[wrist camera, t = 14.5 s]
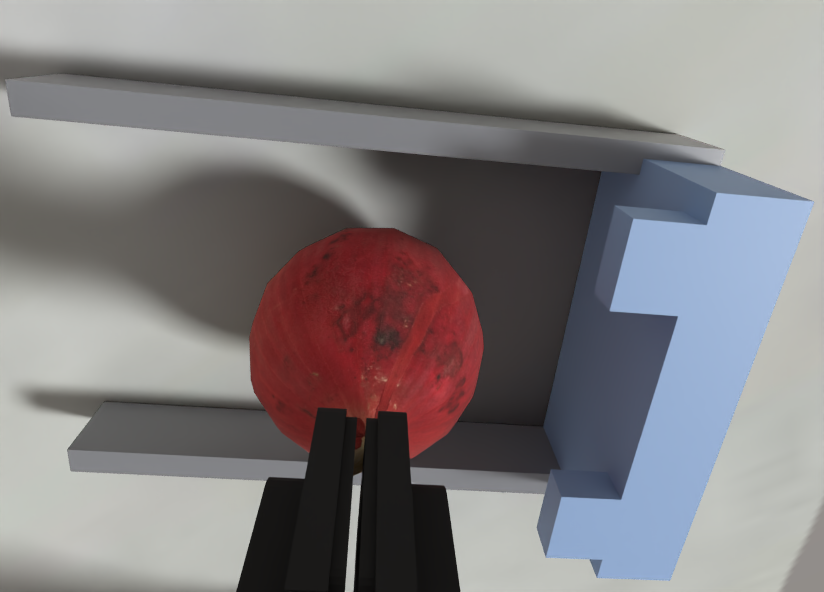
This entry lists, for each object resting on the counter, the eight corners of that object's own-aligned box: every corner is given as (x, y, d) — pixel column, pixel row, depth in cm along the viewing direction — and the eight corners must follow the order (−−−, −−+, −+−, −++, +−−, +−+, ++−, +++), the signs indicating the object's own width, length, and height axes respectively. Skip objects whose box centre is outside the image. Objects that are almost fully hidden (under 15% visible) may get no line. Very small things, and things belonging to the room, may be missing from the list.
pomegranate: (318, 161, 17) (268, 268, 9) (496, 241, 18) (573, 389, 11) (251, 327, 19) (167, 519, 11) (414, 388, 20) (431, 596, 13)
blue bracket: (557, 137, 17) (642, 185, 11) (675, 148, 17) (814, 201, 11) (499, 433, 21) (541, 575, 15) (595, 439, 21) (670, 580, 16)
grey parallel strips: (-14, -492, 11) (-114, -625, 9) (812, -352, 13) (905, -438, 10) (107, 421, 20) (70, 471, 18) (593, 447, 21) (618, 497, 19)
